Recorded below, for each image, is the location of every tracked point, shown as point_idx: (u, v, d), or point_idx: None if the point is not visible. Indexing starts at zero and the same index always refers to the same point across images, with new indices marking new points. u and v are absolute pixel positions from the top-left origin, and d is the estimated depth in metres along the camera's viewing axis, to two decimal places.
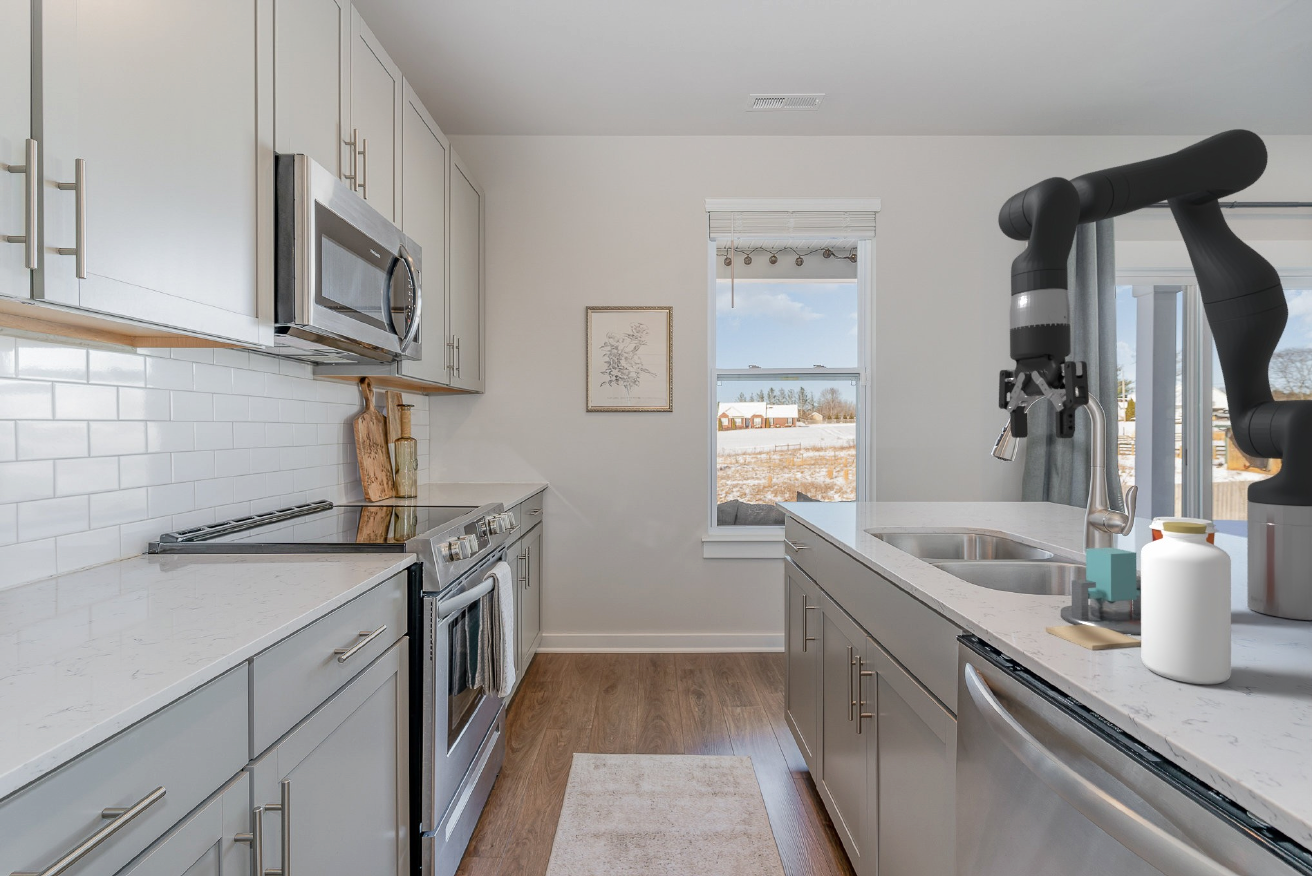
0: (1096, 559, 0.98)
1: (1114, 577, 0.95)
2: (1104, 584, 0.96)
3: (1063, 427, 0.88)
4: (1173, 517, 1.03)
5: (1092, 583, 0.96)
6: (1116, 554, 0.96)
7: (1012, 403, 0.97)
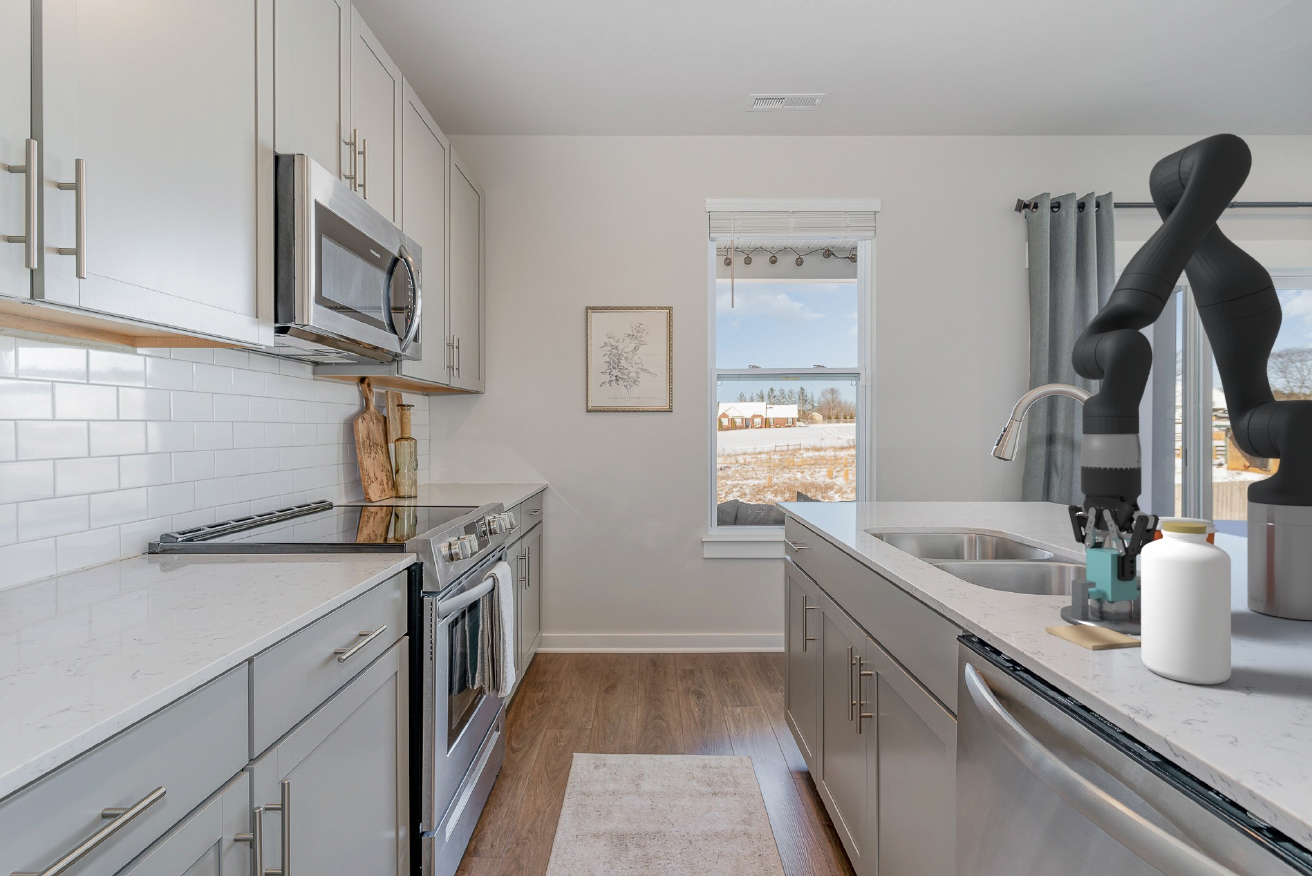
0: (1096, 559, 0.98)
1: (1114, 577, 0.95)
2: (1104, 584, 0.96)
3: (1124, 571, 0.95)
4: (1173, 517, 1.03)
5: (1092, 583, 0.96)
6: (1116, 554, 0.96)
7: (1088, 539, 1.00)
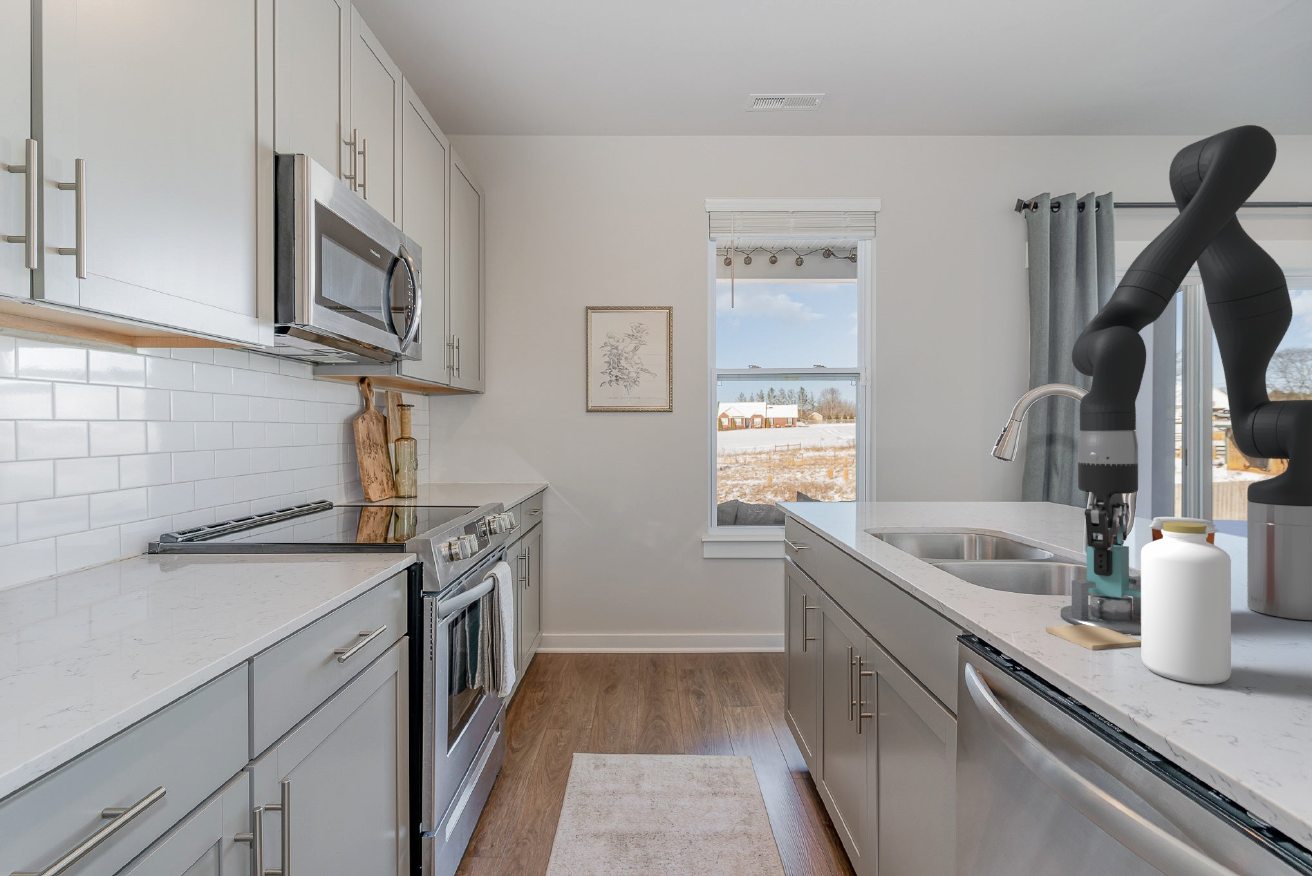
0: None
1: (1091, 569, 0.98)
2: None
3: (1096, 565, 0.97)
4: (1173, 517, 1.03)
5: (1092, 583, 0.96)
6: None
7: None
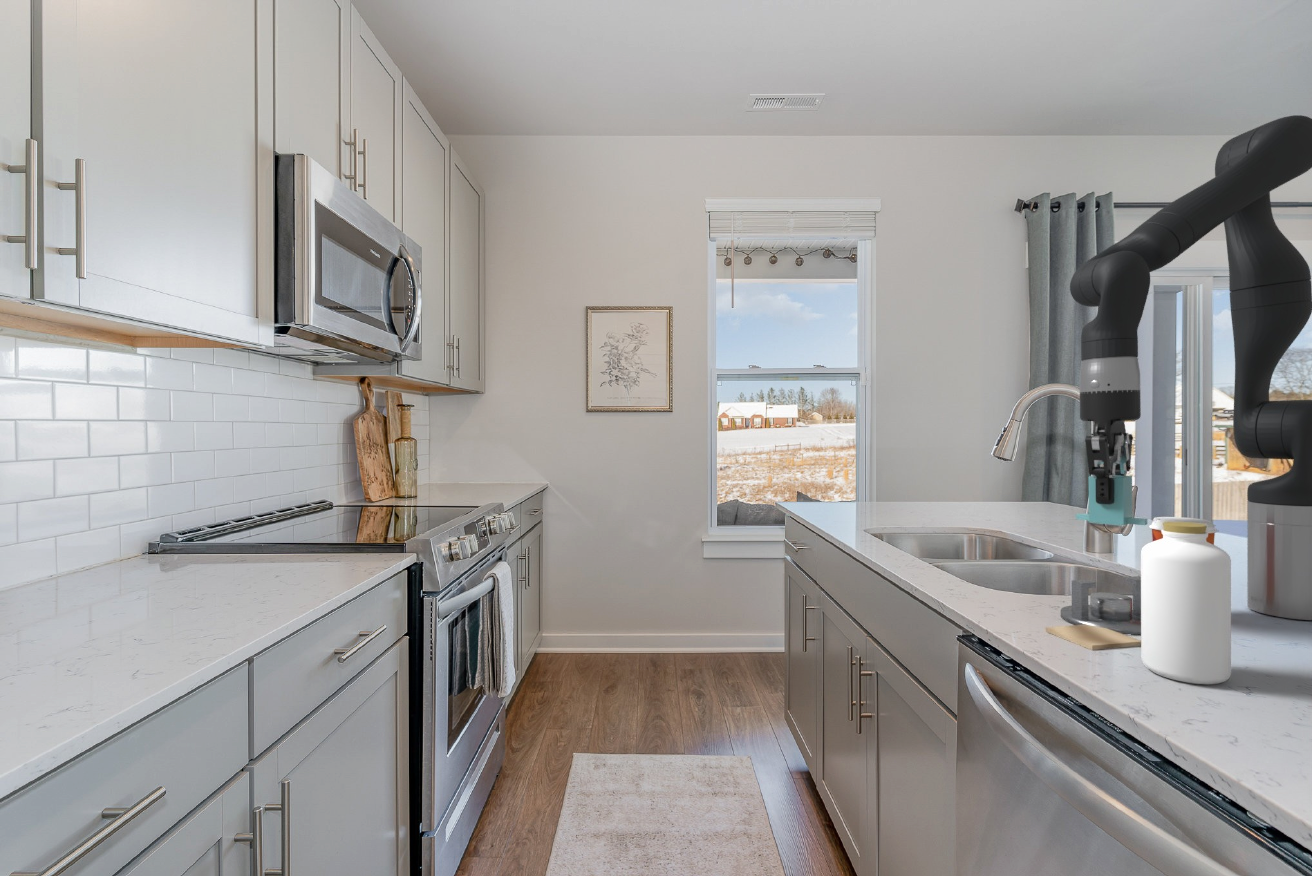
0: None
1: (1093, 499, 0.98)
2: None
3: None
4: (1173, 517, 1.03)
5: (1092, 583, 0.96)
6: None
7: None
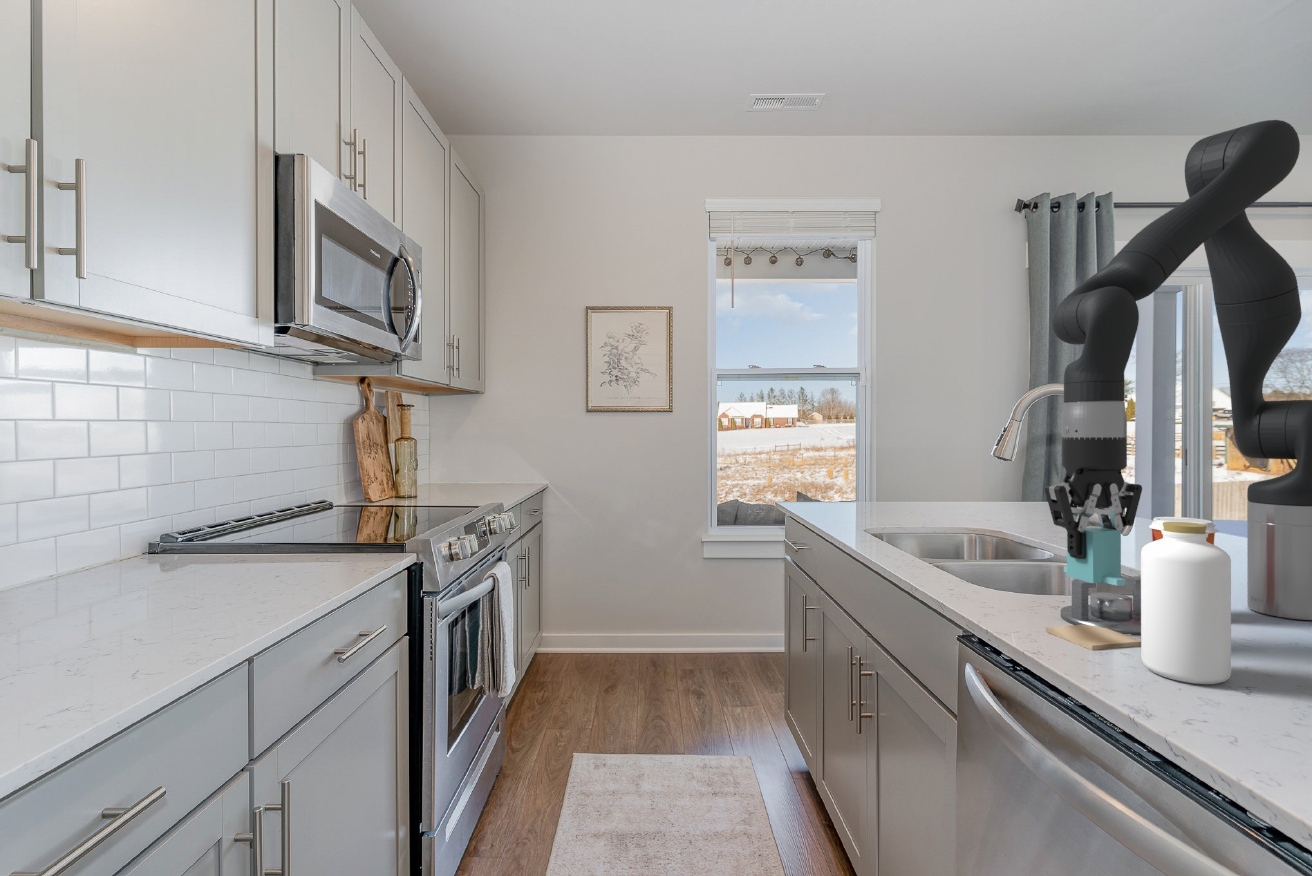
0: None
1: None
2: None
3: None
4: (1173, 517, 1.03)
5: (1092, 583, 0.96)
6: None
7: None
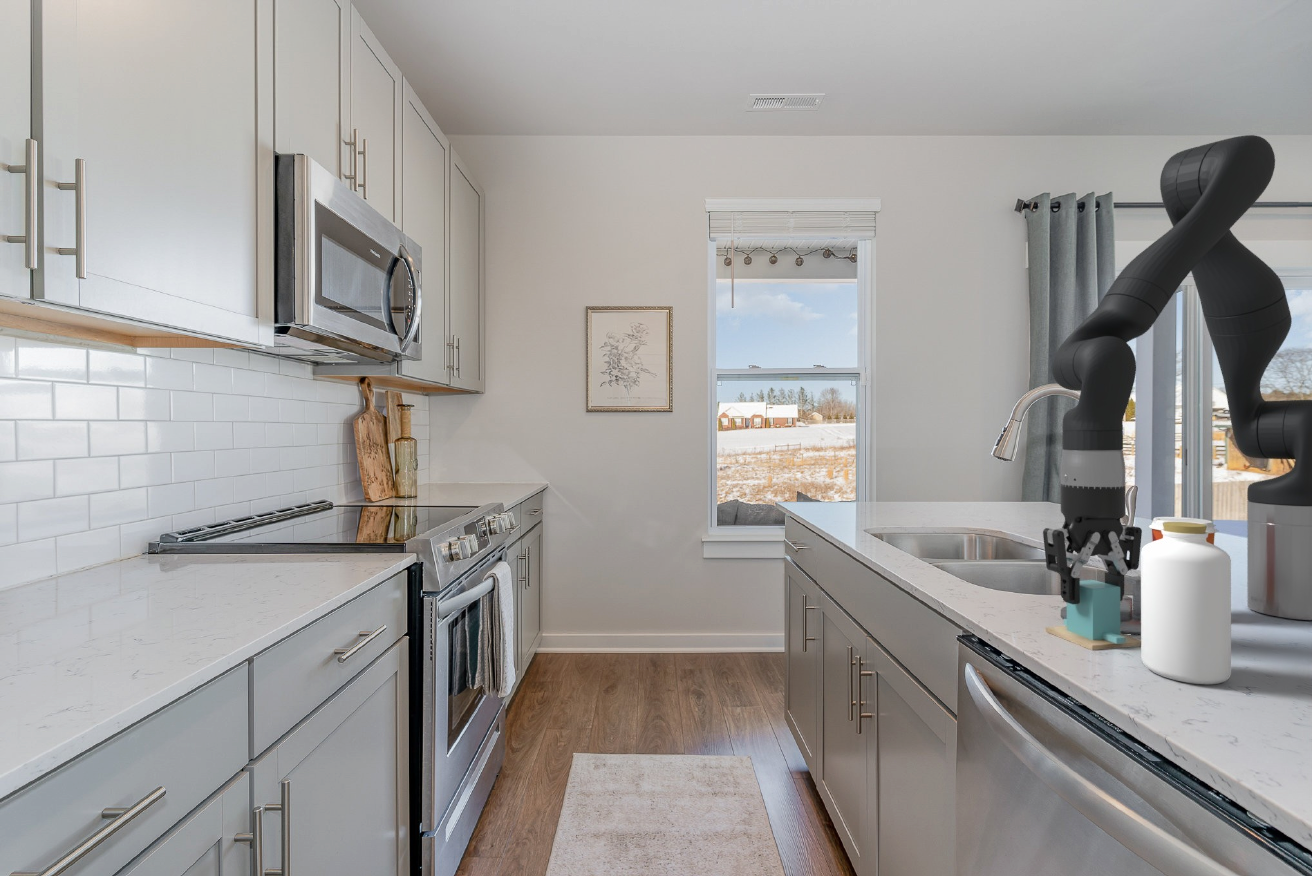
0: None
1: (1070, 606, 0.92)
2: None
3: None
4: (1173, 517, 1.03)
5: None
6: None
7: None
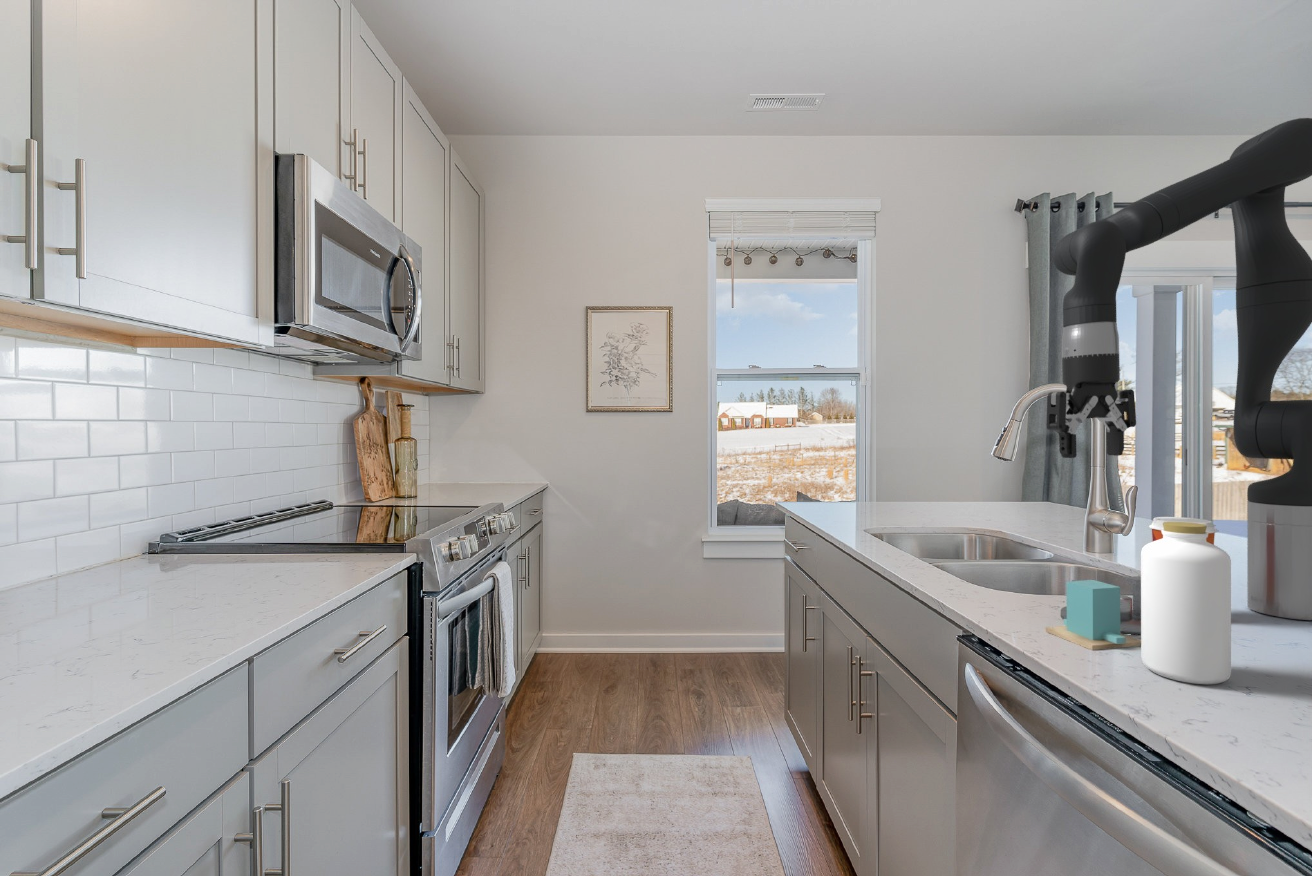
0: None
1: (1070, 606, 0.92)
2: None
3: None
4: (1173, 517, 1.03)
5: None
6: (1072, 584, 0.91)
7: None
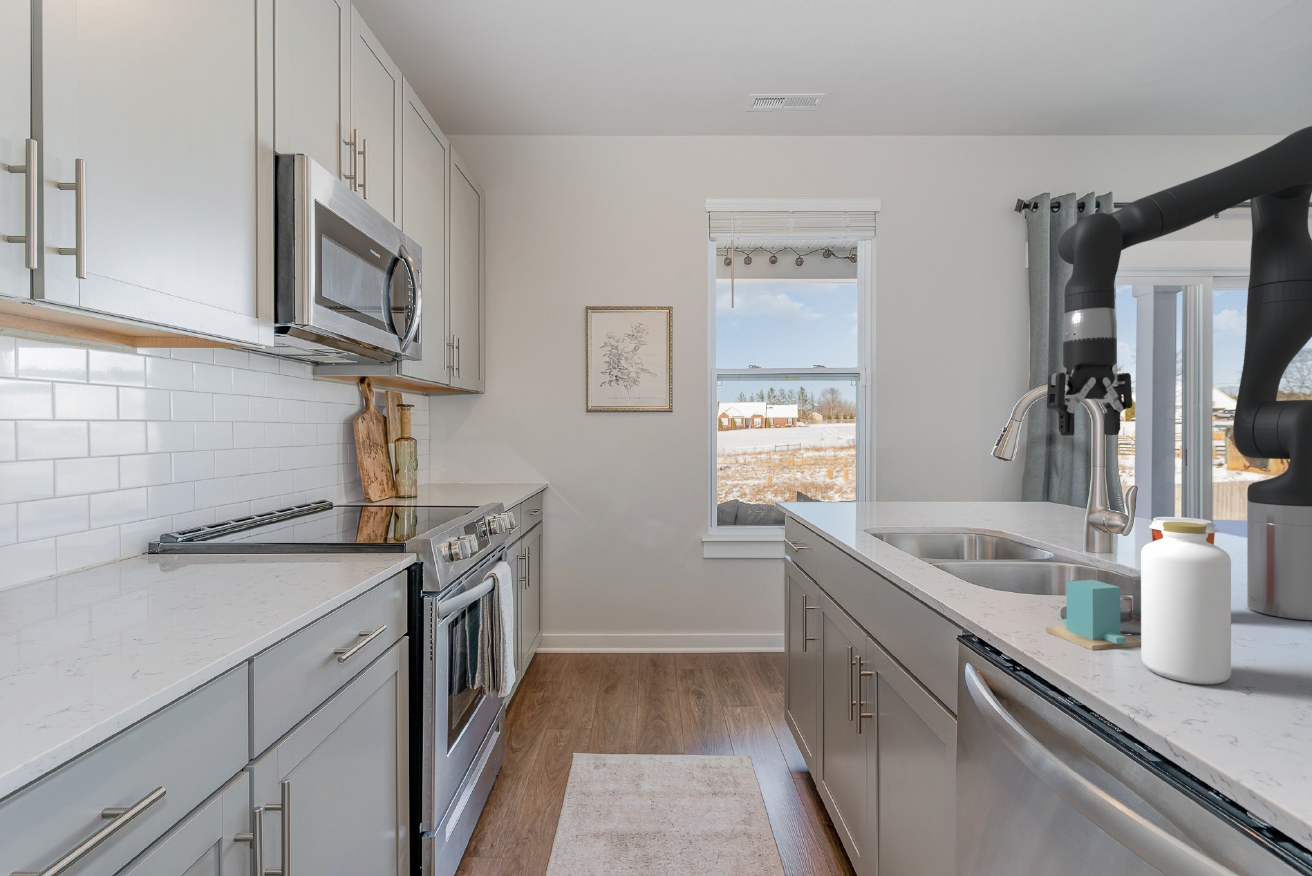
0: None
1: (1070, 606, 0.92)
2: None
3: None
4: (1173, 517, 1.03)
5: None
6: (1072, 584, 0.91)
7: None
